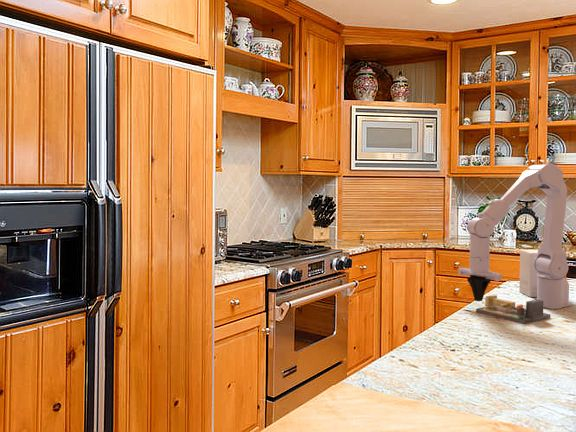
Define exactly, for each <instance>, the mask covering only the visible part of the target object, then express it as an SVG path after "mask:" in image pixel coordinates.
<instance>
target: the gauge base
mask: <svg viewBox="0 0 576 432" xmlns="http://www.w3.org/2000/svg"><path fill="white" fill-rule="evenodd" d="M525 303H526V304H525V308H524V315H523V316H519V315H517V306H515V308H514V309H508V308H501V307H500V306H491V307H486V306H484V307H479V308H478V307H477V308H476V309H475V313H478V314H482V315H485V316H490V317H495V318H499V319H502V320H507V321H511V322H515V323H519V324H523V325H526V324H531V323H535V322H539V321H543V320H547V319H551V314H550V313H546V312H544V307H543V304H544V301H542V300H537V299H532V300H528V301H526V302H525Z"/></svg>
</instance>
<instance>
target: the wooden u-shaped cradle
mask: <svg viewBox="0 0 576 432" xmlns="http://www.w3.org/2000/svg"><path fill="white" fill-rule="evenodd" d="M491 306H500V307H501V308H508V309H514V308H515V307H516V302H515V301H512V300H507V299H503V298H502V299H501V298H498V295H497V294H492V295H487V296H485V306H484V307H491Z"/></svg>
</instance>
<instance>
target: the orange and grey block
mask: <svg viewBox="0 0 576 432" xmlns="http://www.w3.org/2000/svg"><path fill="white" fill-rule="evenodd" d="M516 307H517V315H519V316H523V315H524V309H525V308H524V305H523V304H518V305H516Z"/></svg>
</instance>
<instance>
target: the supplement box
mask: <svg viewBox="0 0 576 432" xmlns="http://www.w3.org/2000/svg"><path fill="white" fill-rule="evenodd" d="M538 250H539V249H520V252H519V291H518V292H519V293H521V294H523V295H525V296H527V297H528V298H537V281H538V275H537V271H536V270H535V268H534V260H535V258H536V257H537V254H538Z"/></svg>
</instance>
